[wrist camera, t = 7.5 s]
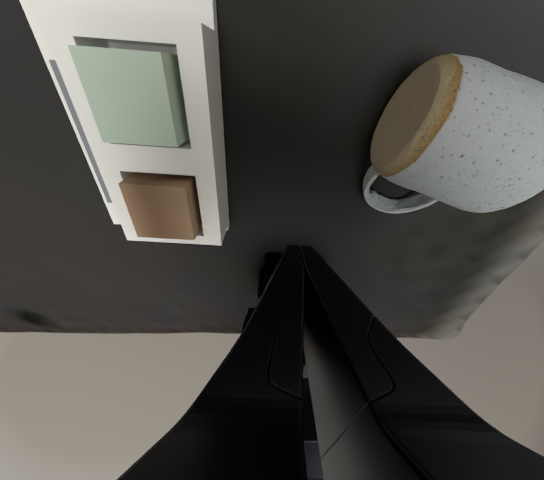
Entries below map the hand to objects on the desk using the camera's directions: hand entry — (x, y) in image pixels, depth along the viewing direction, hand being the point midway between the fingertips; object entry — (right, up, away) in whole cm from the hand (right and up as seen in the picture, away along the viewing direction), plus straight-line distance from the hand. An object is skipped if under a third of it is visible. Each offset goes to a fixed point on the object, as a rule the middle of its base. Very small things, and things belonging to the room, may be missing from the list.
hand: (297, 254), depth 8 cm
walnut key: (-9, +4, +11) cm, 15 cm away
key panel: (-10, +9, +10) cm, 17 cm away
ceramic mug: (+11, +8, +10) cm, 17 cm away
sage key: (-9, +10, +6) cm, 14 cm away
